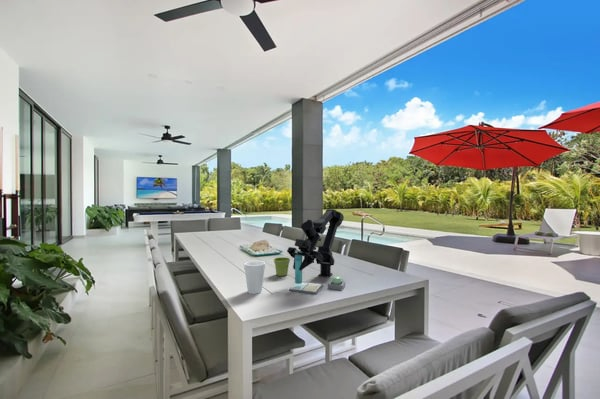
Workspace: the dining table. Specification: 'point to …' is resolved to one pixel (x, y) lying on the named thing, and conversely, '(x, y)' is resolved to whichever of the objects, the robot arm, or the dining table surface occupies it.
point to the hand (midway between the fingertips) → (296, 269)
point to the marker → (297, 272)
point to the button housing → (336, 285)
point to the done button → (336, 280)
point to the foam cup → (254, 276)
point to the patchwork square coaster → (306, 287)
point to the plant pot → (281, 265)
